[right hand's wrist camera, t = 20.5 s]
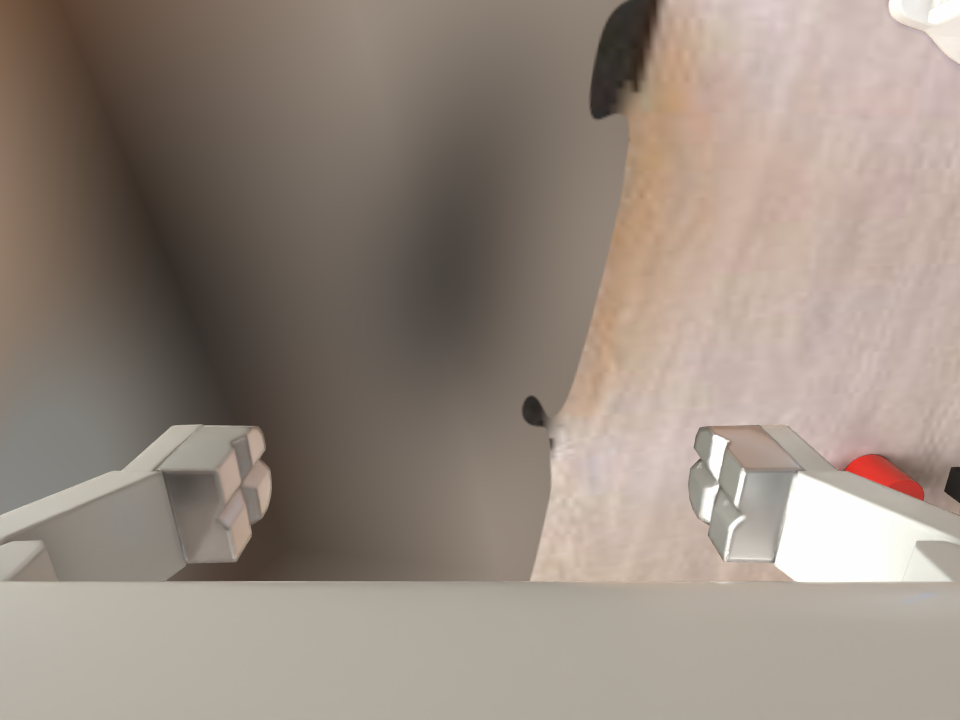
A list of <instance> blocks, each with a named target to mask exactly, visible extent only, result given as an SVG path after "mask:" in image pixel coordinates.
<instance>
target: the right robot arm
mask: <svg viewBox="0 0 960 720" xmlns="http://www.w3.org/2000/svg"><path fill="white" fill-rule="evenodd" d="M889 12H890V15H891V16H892V17H893V18H894V19H895V20H896V21H898V22H899V23H901V24H904V25H906V26H909V27H912V28H915V29H918V30H921V31H924V32H925V33H926V34H927V35H928V36H929V37H930V38H931V39H932V40H933V41H934V42H935V43H936V45H937V46H938V47H939V48H940V49H941V50H942V52H943V53H944V54H945V55H946V56H948V57H949V58H950V59H951V60H953V61H954V62H956V63H957V64H959V65H960V0H889ZM265 449H266V445H265V440H264V435H263V432H262V430H261V429H260V428H259V427H258V426H213V425H206V426H204V425H178V426H172V427H170V428H169V429H168V430H167V431H166V432H165V433H164V434H163V435H161V436H160V437H159V438H158V439H157V440H156V441H155V442H154V443H152V444H151V445H150V446H149V447H148V448H147V449H146V450H145V451H144V452H142V453H141V454H140V455H139V456H138V457H137V458H136V459H134V460H133V461H132V462H131V463H130V464H129V465H128V466H127V467H125V468H124V469H123V470H122V471H111V472H109V473H106V474H104V475H101V476H99V477H96V478H94V479H91V480H89V481H86V482H84V483H81V484H79V485H76V486H73V487H71V488H68V489H66V490H63V491H61V492H58V493H56V494H53V495H51V496H48V497H46V498H43V499H41V500H38V501H35V502H33V503H30V504H28V505H25V506H23V507H20V508H18V509H15V510H13V511H10V512H8V513H5V514H3V515H0V720H960V515H957V514H955V513H952V512H950V511H947V510H945V509H942V508H940V507H937V506H934V505H932V504H929V503H927V502H924V501H922V500H919V499H917V498H914V497H912V496H909V495H907V494H904V493H902V492H899V491H897V490H894V489H892V488H889V487H886V486H884V485H881V484H879V483H876V482H874V481H871V480H869V479H866V478H864V477H861V476H859V475H856V474H854V473H851V472H849V471H838V470H837V469H836V468H835V467H833V466H832V465H831V464H830V463H829V462H828V461H827V460H826V459H825V458H823V457H822V456H821V455H820V454H819V453H818V452H817V451H816V450H814V449H813V448H812V447H811V446H810V445H809V444H808V443H807V442H805V441H804V440H803V439H802V438H801V437H800V436H799V435H798V434H797V433H795V432H794V431H793V430H792V429H791V428H790V427H788V426H785V425H762V426H759V425H745V426H706V427H701V428H699V430H698V433H697V435H696V439H695V444H694V449H695V450H696V452H697V454H698V455H699V457H700V459H699V460H698V461H697V462H696V463H695V464H694V465H693V466H692V467H691V468H690V475H689V482H688V487H689V498H690V502H691V505H692V508H693V510H694V512H695V514H696V516H697V517H698V519H700V520H701V521H703V522H705V523H706V524H708V525H709V526H710V527H709V532H708V536H709V538H710V540H711V541H712V543H713V545H714V546H715V548H716V550H717V551H718V553H719V555H720V556H721V558H722V560H723V561H724V562H748V563H775V564H774V566H776V567H777V568H778V569H780V570H781V571H782V572H784V573H785V574H786V575H788V576H789V577H791V578H792V579H793V580H795V581H166V580H167V579H168V578H170V577H171V576H172V575H174V574H175V573H176V572H178V571H179V570H180V569H182V568H183V567H184V566H186V564H185V563H211V562H236V561H237V560H238V558H239V556H240V555H241V553H242V551H243V550H244V548H245V546H246V545H247V543H248V541H249V539H250V538H251V536H252V532H251V527H250V526H251V525H252V524H254V523H255V522H257V521H259V520H260V519H262V517H263V516H264V514H265V512H266V510H267V508H268V505H269V501H270V497H271V481H272V480H271V474H270V468H269V467H268V466H267V465H266V464H265V463H264V462H263V461H262V460H261V459H260V457H261V455H262V454H263V452H264V450H265Z"/></svg>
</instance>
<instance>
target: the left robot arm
mask: <svg viewBox="0 0 960 720" xmlns="http://www.w3.org/2000/svg"><path fill="white" fill-rule="evenodd" d="M944 492H946V493H947V494H948V495H950V496H951V497H952V498H954V499H955V500H956V501H958V502H959V503H960V467H951V470H950V473H949V477H948V480H947V483H946V487H945V490H944Z"/></svg>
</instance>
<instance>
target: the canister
mask: <svg viewBox="0 0 960 720" xmlns="http://www.w3.org/2000/svg"><path fill="white" fill-rule="evenodd" d="M845 471H849V472H851V473H854V474H856V475H859V476H861V477H864V478H866V479H869V480H871V481H874V482H876V483H879V484H881V485H884V486H886V487H889V488H892V489H894V490H897V491H899V492H902V493H904V494H907V495H909V496H912V497H914V498H917V499H919V500H922V501H923V500H924V491H923V489H922V487H921V486H920V485H919V484H918V483H916V482H915V481H914V480H913V479H911V478H910V477H909V476H907V475H906V474H905V473H903V472H902V471H901V470H900V469H898V468H897V467H896V466H894V465H893V464H892V463H890V462H889V461H888V460H887V459H885V458H884V457H882V456H879V455H873V454H871V455H865V456H862V457H859V458H857V459H856V460H854V461H853V462H851V463H850V464H849V465H848V467H847V468H846V470H845Z"/></svg>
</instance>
